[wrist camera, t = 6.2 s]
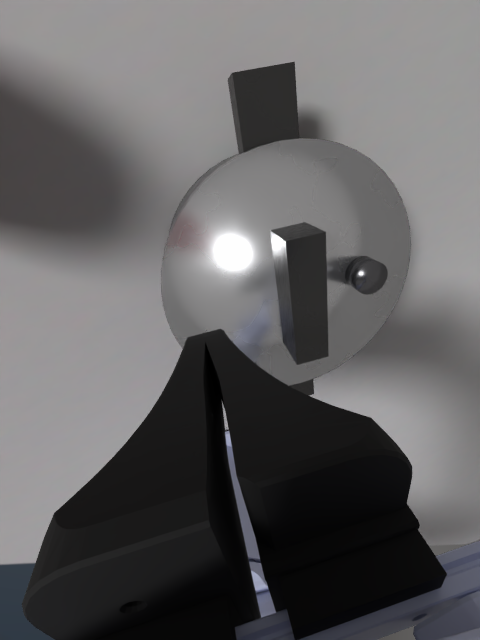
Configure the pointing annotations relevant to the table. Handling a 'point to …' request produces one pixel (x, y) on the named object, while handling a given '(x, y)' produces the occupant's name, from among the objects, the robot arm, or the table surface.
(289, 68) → the pot
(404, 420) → the table surface
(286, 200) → the lid
